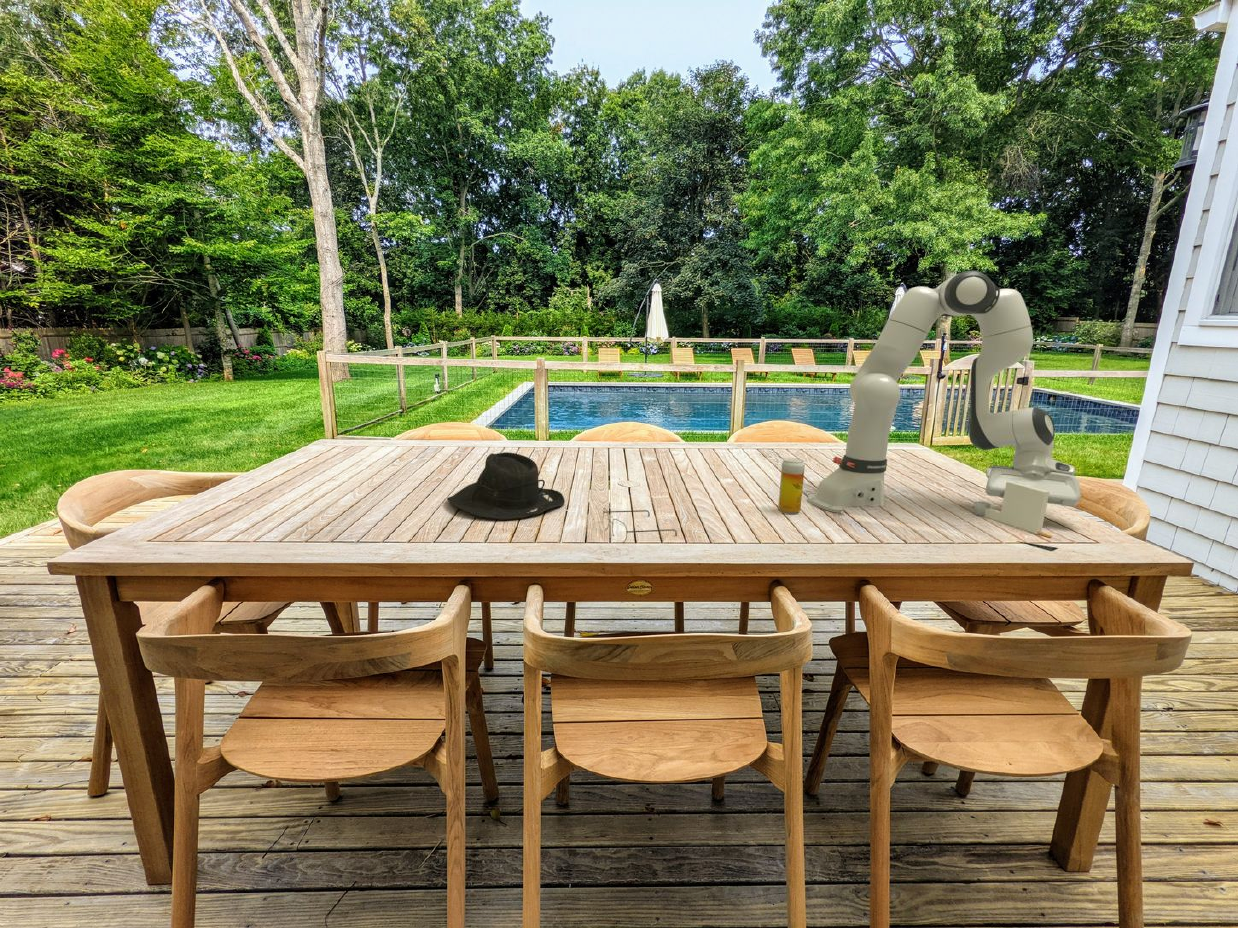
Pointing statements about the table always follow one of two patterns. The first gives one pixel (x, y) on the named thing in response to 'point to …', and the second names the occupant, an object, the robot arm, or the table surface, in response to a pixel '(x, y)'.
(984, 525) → the table surface
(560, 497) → the hat
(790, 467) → the beer glass
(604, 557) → the table surface
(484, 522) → the table surface
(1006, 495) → the peg
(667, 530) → the eyeglasses
